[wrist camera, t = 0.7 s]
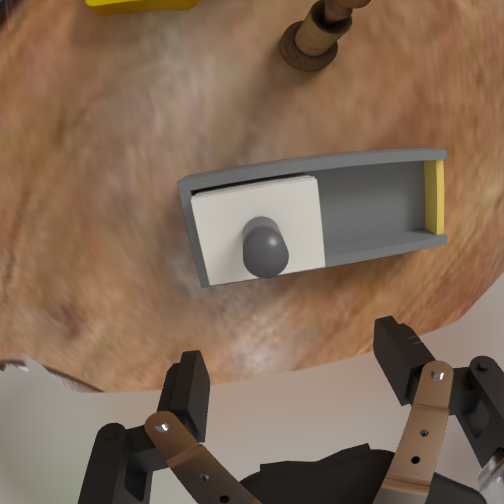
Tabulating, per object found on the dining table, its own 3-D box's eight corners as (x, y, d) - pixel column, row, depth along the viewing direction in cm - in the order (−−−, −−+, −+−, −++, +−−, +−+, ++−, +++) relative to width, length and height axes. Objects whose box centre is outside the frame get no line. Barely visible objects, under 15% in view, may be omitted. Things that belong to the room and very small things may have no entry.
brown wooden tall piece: (295, 79, 31) (342, 28, 15) (270, 36, 29) (293, -41, 12) (341, 62, 31) (414, 13, 14) (317, 20, 28) (369, -52, 12)
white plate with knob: (199, 188, 34) (176, 214, 22) (303, 171, 34) (336, 188, 22) (214, 261, 38) (203, 317, 25) (311, 245, 37) (343, 294, 25)
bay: (185, 176, 35) (176, 181, 30) (425, 147, 34) (446, 149, 30) (206, 270, 39) (201, 287, 35) (427, 233, 39) (446, 244, 34)
